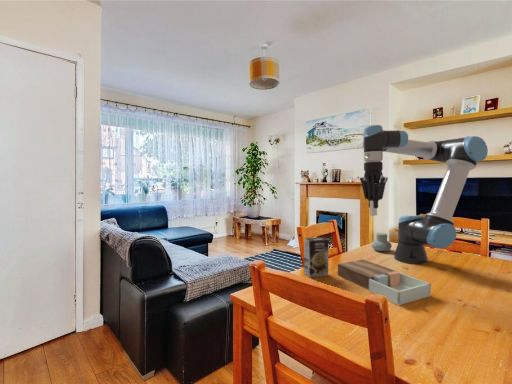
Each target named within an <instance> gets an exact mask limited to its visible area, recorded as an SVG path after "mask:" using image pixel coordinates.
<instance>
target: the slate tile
mask: <svg viewBox="0 0 512 384" xmlns="http://www.w3.org/2000/svg"><path fill="white" fill-rule="evenodd" d="M374 281H376V282H379V283H381V284H383V285H386V286H388V276H387V275H385V274H382V275H377V276H374Z"/></svg>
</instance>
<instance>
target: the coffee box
mask: <svg viewBox="0 0 512 384" xmlns="http://www.w3.org/2000/svg"><path fill="white" fill-rule="evenodd" d="M303 239H304V243H303V249H304V250H303V253H304V254H303V255H304V256H303V273H304V275H306V276H307V277H308V278H316V277H327V276H329V247H330V245H329V241H330V239H328V238H325V237H322V236H319V237H318V236H317V237H307V238H305V237H304V238H303Z"/></svg>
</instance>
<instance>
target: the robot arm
mask: <svg viewBox="0 0 512 384" xmlns="http://www.w3.org/2000/svg"><path fill="white" fill-rule="evenodd" d="M362 137H363V141H362V147H363V161H364V163H363V171H364V174H363V177H360V178H359V180H360V182H361V187H362V192H363V196H364V199H365V200H368V208H369V216H370V217H371V216H373V217H375V216H378V208H379V201H380V200H383V198H384V192H385V188H386V183H387V182H388V180H389V178H388V177H385V176H384V174H383V172H382V171H383V168H384V167H383V163H384V162H382V161H383V156H384V154H383V152H385V153H389V154H390V153H391V154H392V153H393V154H399V155H405V156H413V157H418V158H419V157H420V158H423V159H424V160H427V161H432V162H433V161H434V162H437V163H445V164H446V165H447V169H446V171H445V173H444V176H443V178H442V181H441V183H440V185H439V189H438V192H437V194H436V197H435V200H434V202H433V205H432V206H431V207H432V208H431V210H430V212H428V213H425V215H401V216H400V217H398V224H397V225H398V226H397V227H398V228H397V229H398V233H397V234H398V236H397V238H398V241H397V246H396V249H395V251H394V255H393V258H394V259H395V260H397V261H399V262H401V263H402V262H403V263H406V264H414V265H423V264H427V263H428V262H429V260H428V257H429V256H428V255H427V251H426V249H425V245H427V246H430V247H432V248H438V249H445V248H447V247H450V246H451V245H452V244H453V243H454V242H455V241H456V238H457V229H456V227H455V226H454V225H455V222H454V220H453V216H454V213H455V211H456V208H457V205H458V202H459V200H460V197H461V195H462V192H463V189H464V187H465V185H466V182H467V179H468V176H469V173H470V171H472V170H475V168H476V167H477V164H478V163H480V162H482V161H484V160H485V159H486V158H487V157H488V145H487V143H486V141H485V140H484V139H483V138H482V137H480V136H476V135H475V136H474V135H473V136H466V137H459V138H452V139H446V140H445V139H444V140H438V141H436V140H428V141H421V140H414V139H409V134H408V132H407V131H406V130H399V129H398V130H384V128H383V126H382V125H380V124H374V125H367V126H365V127H364V128H363V136H362Z"/></svg>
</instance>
